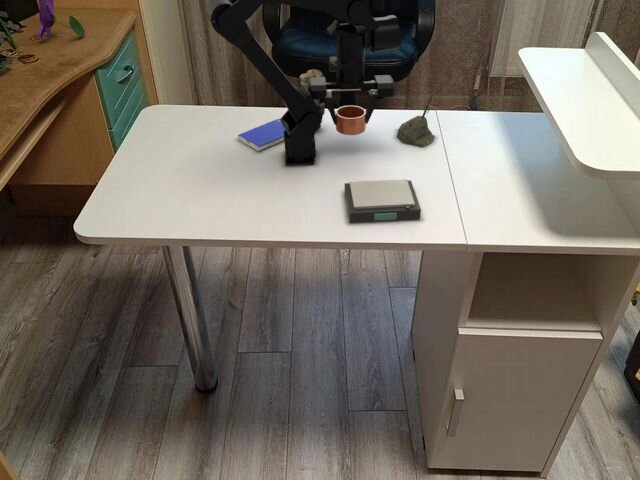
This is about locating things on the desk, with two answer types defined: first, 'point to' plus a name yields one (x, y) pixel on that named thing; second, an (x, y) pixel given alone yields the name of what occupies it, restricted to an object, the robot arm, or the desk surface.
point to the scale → (381, 201)
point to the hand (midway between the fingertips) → (350, 123)
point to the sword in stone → (416, 130)
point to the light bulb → (304, 82)
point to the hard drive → (264, 135)
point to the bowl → (350, 120)
